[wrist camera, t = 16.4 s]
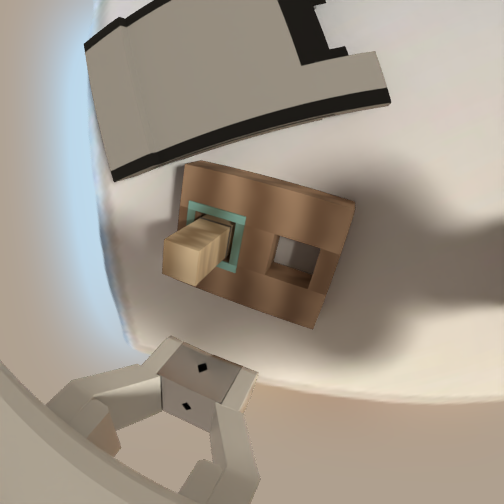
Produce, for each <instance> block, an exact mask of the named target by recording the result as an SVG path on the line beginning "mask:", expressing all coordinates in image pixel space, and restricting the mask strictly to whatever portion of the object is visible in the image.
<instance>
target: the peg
mask: <svg viewBox="0 0 504 504" xmlns="http://www.w3.org/2000/svg"><path fill="white" fill-rule="evenodd" d="M235 226H236V223H235V222H232V221H228V220H225V219H222V218H218V217H215V216H212V215H208V214H206V215H205V216H203V217H200V218H199V219H198V220H196V221H194V222H192V223H191V224H189V225H187V226H186V227H184V228H182V229H181V230H179V231H177V232H175V233H174V234H172V235H170V236H169V237H167V238H165V239H164V250H163V268H162V274H165V275H167V276H170V277H172V278H175V279H177V280H180V281H182V282H185V283H187V284H190V285H192V286H196V285H197V284H198V283H199V282H200V281H201V280H202V279H203V278H204V277H205V276H206V275H208V274H209V273H210V272H211V271H212V270H213V269H214V268H215V267H216V266H217V265H218V264H219V263H220V262H221V261H222V260H223V259H224V258H226V257H227V255H228V254H229V253H231V248H232V243H233V237H234V232H235Z"/></svg>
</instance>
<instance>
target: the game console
mask: <svg viewBox="0 0 504 504" xmlns="http://www.w3.org/2000/svg"><path fill="white" fill-rule="evenodd" d="M324 3H326V1H325V0H154V1H152V2H150V3H149V4H147V5H146V6H144V7H142V8H141V9H139V10H138V11H136V12H135V13H133V14H132V15H130V16H129V17H127V18H126V19H124V18H121V17H118V18H117V19H115V20H114V21H112V22H111V23H110V24H108V25H107V26H106V27H104V28H103V29H102V30H101V31H99V32H98V33H97V34H95V35H94V36H93V37H92V38H90V39H89V40H88V41H87V42H86V43H84V48H85V55H86V62H87V68H88V74H89V79H90V85H91V90H92V95H93V100H94V105H95V110H96V114H97V119H98V123H99V127H100V132H101V136H102V140H103V144H104V148H105V152H106V155H107V159H108V163H109V166H110V170H111V174H112V177H113V181H114V182H117V181H120V180H123V179H127V178H131V177H134V176H137V175H140V174H142V173H145V172H147V171H150V170H153V169H155V168H158V167H160V166H163V165H166V164H168V163H171V162H174V161H177V160H182V159H185V158H188V157H191V156H194V155H197V154H200V153H203V152H206V151H209V150H212V149H215V148H218V147H221V146H224V145H227V144H231V143H234V142H237V141H241V140H244V139H247V138H251V137H254V136H258V135H262V134H265V133H269V132H273V131H276V130H280V129H284V128H288V127H292V126H296V125H300V124H305V123H309V122H313V121H318V120H322V118H326V117H330V116H335V115H340V114H345V113H350V112H356V111H361V110H367V109H373V108H379V107H385V106H388V105H389V104H391V99H390V96H389V92H388V89H387V86H386V82H385V79H384V76H383V73H382V70H381V67H380V64H379V61H378V58H377V55H376V52H375V51H373V52H366V53H360V54H355V55H348V52H347V50H346V47H345V46H344V47H339V48H334V49H329V47H328V44H327V42H326V39H325V36H324V34H323V31H322V28H321V26H320V23H319V21H318V18H317V16H316V13H315V11H314V8H313V6H315V5H319V4H324Z"/></svg>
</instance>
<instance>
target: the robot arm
mask: <svg viewBox="0 0 504 504" xmlns="http://www.w3.org/2000/svg"><path fill="white" fill-rule="evenodd" d="M258 373H259V372H256V371H254V370H251V369H248V368H246V367H243V366H241V365H238V364H236V363H233V362H230V361H228V360H225V359H223V358H220V357H218V356H215V355H212V354H210V353H207V352H205V351H203V350H201V349H199V348H197V347H194V346H192V345H190V344H188V343H186V342H183V341H181V340H179V339H177V338H175V337H173V336H170V337H168V338H166V339H165V341H164V342H163V343H162V344H161V345H160V346H159V347H158V348H157V349H156V350H155V351H154V352H153V353H152V355H151V356H150V357H149V358H148V359H147V360H146V361H145V362H144V363H143V364H142V365H141V366H140V365H138V364H135V365H131V366H127V367H124V368H120V369H116V370H112V371H108V372H104V373H100V374H96V375H92V376H87V377H83V378H79V379H74V380H72V381H70V382H69V383H68V384H67V385H66V386H65V387H64V388H63V389H62V390H61V391H60V392H59V393H58V394H56V395H55V396H54V397H53V398H52V399H51V400H50V401H49V402H48V403H47V404H46V405H44V404H43V403H42V402H41V401H40V400H39V399H38V398H37V397H35V396H34V395H33V393H31V392H30V391H29V390H28V389H27V388H26V387H25V386H24V385H23V384H22V383H21V382H20V381H19V380H18V379H17V378H16V377H15V376H14V375H13V373H12V372H11V371H10V370H9V369H8V368H7V367H6V366H5V365H4V364H3V363H2V362H1V361H0V504H250V503H251V501H252V499H253V496H254V494H255V492H256V489H257V487H258V485H259V482H260V476H259V472H258V468H257V464H256V460H255V456H254V452H253V448H252V444H251V440H250V436H249V432H248V428H247V424H246V420H245V416H244V412H245V409H246V407H247V405H248V402H249V400H250V397H251V395H252V392H253V389H254V386H255V383H256V380H257V377H258ZM162 410H163V411H165V412H167V413H169V414H171V415H173V416H175V417H178V418H180V419H182V420H185V421H186V422H188V423H190V424H192V425H195V426H196V427H198V428H201V429H203V430H205V431H207V432H209V433H210V442H211V451H212V459H213V462H210V461H208V460H205V459H203V460H199V461H198V462H197V463H196V465H195V467H194V469H193V470H192V472H191V473H190V475H189V476H188V478H187V480H186V481H185V483H184V485H183V486H182V488H181V489H180V491H179V492H178V493H176V492H174V491H172V490H170V489H168V488H166V487H164V486H162V485H160V484H158V483H156V482H154V481H153V480H151V479H149V478H147V477H145V476H144V475H142V474H140V473H138V472H137V471H135V470H133V469H131V468H130V467H128V466H126V465H125V464H123V463H122V462H120V461H118V460H117V459H115V458H114V457H115V455H116V454H117V453H118V451H119V450H120V449H121V446H120V442H119V439H118V436H117V433H116V431H117V430H119V429H121V428H124V427H127V426H129V425H131V424H134V423H136V422H138V421H141V420H143V419H146V418H148V417H150V416H152V415H155V414H157V413H159V412H161V411H162Z"/></svg>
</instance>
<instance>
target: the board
mask: <svg viewBox="0 0 504 504" xmlns="http://www.w3.org/2000/svg"><path fill="white" fill-rule="evenodd" d="M354 212H355V202H354V201H351V200H348V199H345V198H341V197H338V196H335V195H332V194H328V193H325V192H322V191H318V190H315V189H312V188H308V187H305V186H301V185H298V184H294V183H291V182H287V181H283V180H280V179H276V178H272V177H268V176H264V175H261V174H257V173H253V172H249V171H245V170H241V169H236V168H232V167H228V166H224V165H219V164H215V163H211V162H206V161H202V160H200V161H196V162H191V163H187V164H185V168H184V176H183V184H182V192H181V201H180V210H179V219H178V230H177V231H179V230H181V229H182V228H184V227H186V226H187V225H189V224H191V223H192V222H194V221H196V220H198V219H199V218H200V217H203V216H205V215H206V214H208V215H212V216H215V217H218V218H222V219H225V220H228V221H232V222H235V223H236V226H235V232H234V237H233V243H232V248H231V253H229V254H228V255H227V257H226V258H224V259H223V260H222V261H221V262H220V263H219V264H218V265H217V266H216V267H215V268H214V269H213V270H212V271H211V272H210V273H209V274H208V275H206V276H205V277H204V278H203V279H202V280H201V281H200V282H199V283H198V284H197V285H196V286H194V287H196V288H199V289H202V290H204V291H207V292H209V293H212V294H215V295H217V296H220V297H223V298H225V299H228V300H231V301H233V302H236V303H239V304H241V305H244V306H247V307H250V308H252V309H255V310H258V311H261V312H263V313H266V314H269V315H272V316H275V317H278V318H281V319H283V320H286V321H289V322H292V323H295V324H298V325H301V326H304V327H307V328H310V329H313V328H314V326H315V323H316V320H317V318H318V315H319V313H320V310H321V308H322V305H323V302H324V300H325V297H326V294H327V292H328V289H329V286H330V283H331V281H332V278H333V275H334V272H335V269H336V267H337V264H338V261H339V258H340V255H341V252H342V249H343V246H344V243H345V240H346V237H347V234H348V231H349V228H350V225H351V221H352V218H353V215H354ZM280 236H283V237H286V238H289V239H292V240H295V241H298V242H302V243H305V244H308V245H311V246H314V247H317V248H320V253H319V256H318V259H317V262H316V265H315V269H314V272H313V275H312V274H309V273H306V272H303V271H300V270H297V269H294V268H291V267H288V266H285V265H282V264H278V263H275V262H274V258H275V254H276V250H277V246H278V242H279V238H280ZM174 279H175V278H174ZM176 280H177V279H176ZM179 281H180V280H179ZM181 282H182V281H181ZM184 283H185V282H184ZM186 284H187V283H186ZM189 285H190V284H189ZM191 286H192V285H191Z"/></svg>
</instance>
